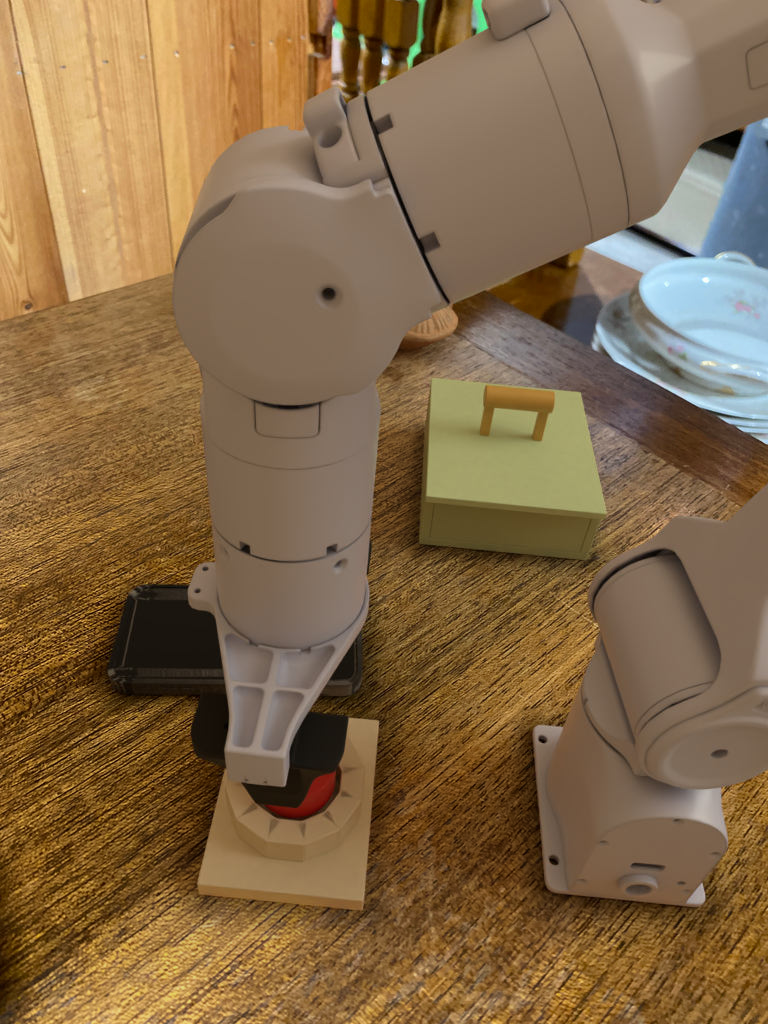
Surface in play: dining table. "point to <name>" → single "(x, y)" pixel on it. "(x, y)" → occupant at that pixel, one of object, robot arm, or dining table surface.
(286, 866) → the block
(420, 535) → the compartment
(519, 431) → the compartment door
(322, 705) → the dining table surface
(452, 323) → the pottery oil lamp
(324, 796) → the release button
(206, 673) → the phone
